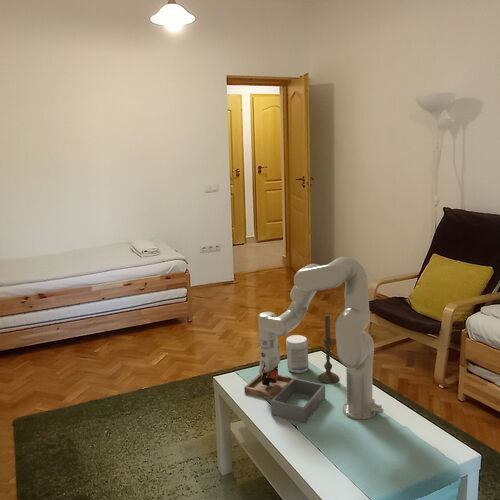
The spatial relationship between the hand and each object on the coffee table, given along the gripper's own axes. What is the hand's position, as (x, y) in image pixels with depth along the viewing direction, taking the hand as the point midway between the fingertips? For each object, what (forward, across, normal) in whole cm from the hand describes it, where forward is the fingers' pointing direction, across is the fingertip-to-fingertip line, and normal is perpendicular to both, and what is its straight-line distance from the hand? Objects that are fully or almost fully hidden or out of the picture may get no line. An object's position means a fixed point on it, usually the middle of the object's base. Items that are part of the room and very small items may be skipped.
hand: (270, 380), depth 203 cm
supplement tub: (+4, +21, -3) cm, 22 cm away
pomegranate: (+1, 0, 0) cm, 1 cm away
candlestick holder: (+4, +18, -19) cm, 26 cm away
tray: (+4, 0, 0) cm, 4 cm away
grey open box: (+4, -8, -17) cm, 19 cm away
